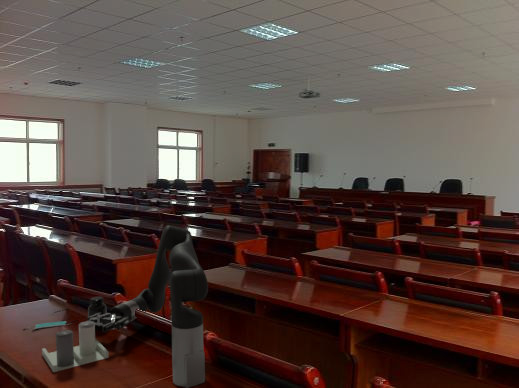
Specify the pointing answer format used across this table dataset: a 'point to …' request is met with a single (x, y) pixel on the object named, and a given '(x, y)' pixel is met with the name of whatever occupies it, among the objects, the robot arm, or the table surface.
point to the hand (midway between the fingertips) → (93, 327)
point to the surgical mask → (51, 324)
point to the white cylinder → (87, 338)
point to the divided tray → (76, 357)
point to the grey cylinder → (64, 348)
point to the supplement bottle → (97, 309)
